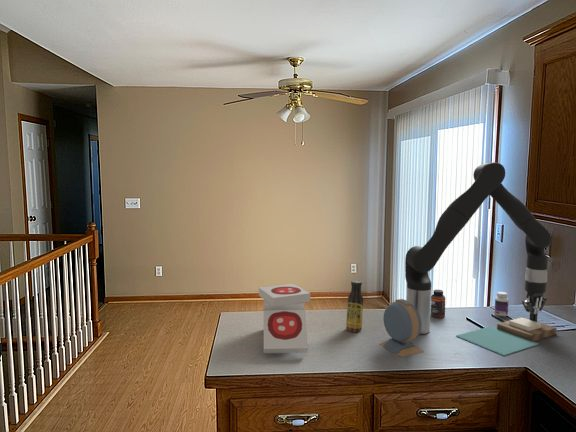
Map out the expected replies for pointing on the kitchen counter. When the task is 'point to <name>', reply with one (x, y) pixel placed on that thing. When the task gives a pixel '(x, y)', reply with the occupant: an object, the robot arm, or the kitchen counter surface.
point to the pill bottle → (501, 304)
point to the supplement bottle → (438, 304)
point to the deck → (529, 335)
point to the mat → (497, 340)
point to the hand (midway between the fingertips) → (533, 322)
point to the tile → (525, 324)
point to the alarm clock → (402, 328)
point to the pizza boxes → (284, 318)
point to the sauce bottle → (355, 308)
